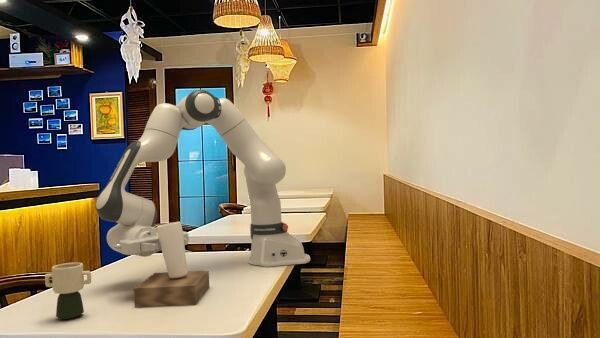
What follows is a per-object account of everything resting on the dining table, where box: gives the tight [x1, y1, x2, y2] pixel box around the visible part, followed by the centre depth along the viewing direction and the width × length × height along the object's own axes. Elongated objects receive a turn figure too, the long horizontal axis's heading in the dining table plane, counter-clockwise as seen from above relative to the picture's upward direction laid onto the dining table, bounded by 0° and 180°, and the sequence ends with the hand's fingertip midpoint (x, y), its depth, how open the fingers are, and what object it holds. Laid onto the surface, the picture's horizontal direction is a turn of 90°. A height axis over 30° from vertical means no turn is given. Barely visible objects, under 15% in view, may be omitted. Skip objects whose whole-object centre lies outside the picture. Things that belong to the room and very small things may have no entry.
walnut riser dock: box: [133, 269, 210, 308], centre depth 136 cm, size 16×18×5 cm
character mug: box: [44, 262, 92, 320], centre depth 122 cm, size 11×7×13 cm, turn 97°
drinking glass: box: [156, 221, 188, 279], centre depth 137 cm, size 7×7×15 cm
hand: (170, 244), depth 136 cm, fingers open, 8 cm apart
